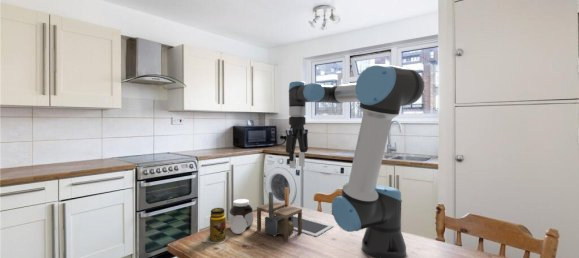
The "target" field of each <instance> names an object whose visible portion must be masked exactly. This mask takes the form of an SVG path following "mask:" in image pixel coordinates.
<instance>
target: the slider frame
mask: <svg viewBox="0 0 579 258" xmlns="http://www.w3.org/2000/svg"><path fill="white" fill-rule="evenodd" d="M273 202H274V192H272V191H269V192H268V203H269V213H268V216H265V217H264V232H265V234H269V235H271V236H275V237H276V236H278V234H277V220H279V219H283V220H284V218H283V217H280V216H276V215H275V216H273ZM284 205H285V207H287V206H290V187H287V186H286V187H284ZM288 220H289V221H292V222H293V216H291V217H289V218H288Z"/></svg>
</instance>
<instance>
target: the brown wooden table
mask: <svg viewBox="0 0 579 258" xmlns="http://www.w3.org/2000/svg"><path fill="white" fill-rule="evenodd" d="M262 212H263V213H267V214H269V202H268V203H265V204H262V205H259V206H256V230H257V231H258V232H260V231H262ZM293 215H296V216H298V231H297V234H299V235H301V234H303V232H302V217H303V209H302V208H300V207H295V206H291V205H289V206H287V207H285V203H281V202H276V201H273V216H280V217H283V218H284V235H283V238H284V240H283V241H284V242H288V241H289V235H288V218H289V217H291V216H293Z"/></svg>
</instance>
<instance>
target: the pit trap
mask: <svg viewBox="0 0 579 258" xmlns="http://www.w3.org/2000/svg"><path fill="white" fill-rule="evenodd" d="M293 223H294V231H297V232H298V215H297V214H296V215H293ZM333 228H334V225H331V224H328V223H324V222H321V221H317V220H315V219H314V220H313V219H309V218H307V217H303V216H302V234H306V235H310V236H311V237H315V238H318V237H319V236H321V235H322V234H323V233H326V232H328V231H329V230H331V229H333Z"/></svg>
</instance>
